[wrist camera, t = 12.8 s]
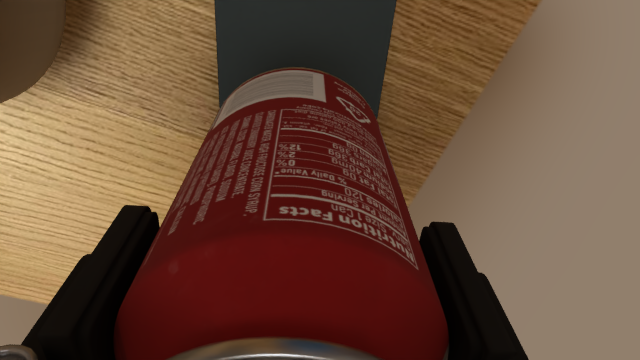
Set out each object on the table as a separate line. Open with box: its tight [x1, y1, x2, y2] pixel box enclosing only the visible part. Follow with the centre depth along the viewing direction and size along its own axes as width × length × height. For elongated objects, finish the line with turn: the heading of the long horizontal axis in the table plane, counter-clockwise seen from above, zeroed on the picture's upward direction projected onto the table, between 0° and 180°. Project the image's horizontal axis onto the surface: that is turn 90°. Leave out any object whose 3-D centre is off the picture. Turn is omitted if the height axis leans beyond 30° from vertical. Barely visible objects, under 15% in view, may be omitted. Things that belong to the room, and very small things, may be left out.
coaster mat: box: [215, 0, 396, 120], centre depth 25 cm, size 10×10×1 cm
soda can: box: [113, 67, 449, 360], centre depth 12 cm, size 7×7×12 cm
